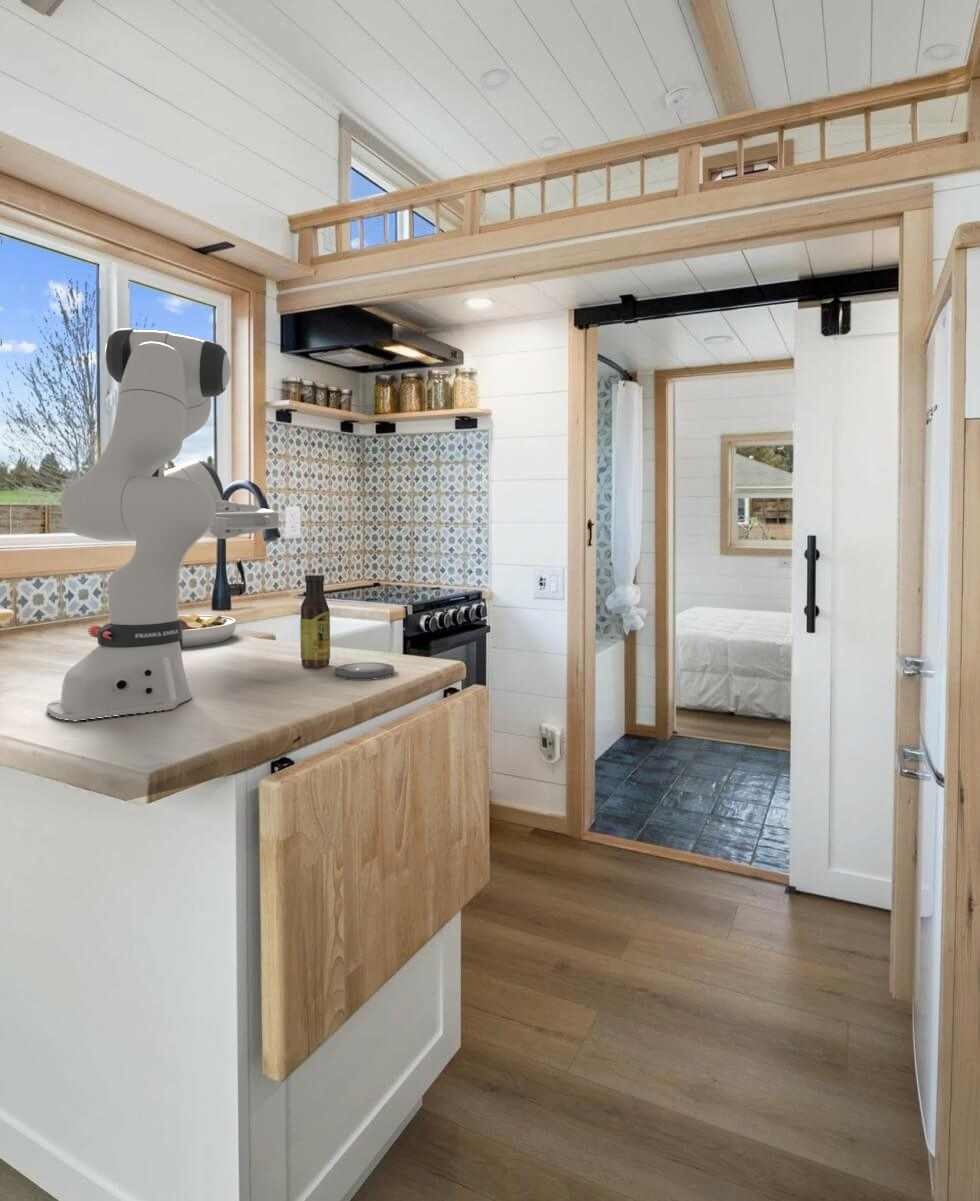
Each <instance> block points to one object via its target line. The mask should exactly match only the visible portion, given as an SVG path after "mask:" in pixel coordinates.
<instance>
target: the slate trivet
mask: <svg viewBox="0 0 980 1201" xmlns="http://www.w3.org/2000/svg"><path fill="white" fill-rule="evenodd" d="M393 673H394V674H395V667H394V665H392V664H388V663H384V662H369V661H368V662H366V661H365V662H353V663H346V664H342V665H339V666H336V667H335V669H334V674H335V677H337V678H339V677H340V678H339V679H342V678H345V679H344V680H349V679H372V680H374V679H373V678H381V677H386V676H389V675H392V674H393ZM394 674H393V675H394ZM393 675H392V676H393ZM389 677H390V676H389ZM386 678H387V677H386ZM381 679H382V678H381Z"/></svg>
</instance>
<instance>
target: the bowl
mask: <svg viewBox="0 0 980 1201" xmlns="http://www.w3.org/2000/svg"><path fill="white" fill-rule="evenodd" d="M178 616H179V619H180V620H181V624H182V632H183V643H182V648H190V647H191V646H193V647H200V646H199V645H201V646H206V645H205V644H208V645H212V644H211V643H213V644H216V642H217V643H220V641H221V642H223V641H226V640H227V639H229V638H230V637H232V635H233V634H234V632H235V630H236V628H237V620H236V619H235V618H233V617H230V616H223V615H220V614H214V615H209V614H208V615H207V614H203V615H202V614H195V613H193V614H187V615H184V614H183V615H181V614H180V615H179V614H178Z"/></svg>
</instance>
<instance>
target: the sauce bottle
mask: <svg viewBox="0 0 980 1201" xmlns="http://www.w3.org/2000/svg"><path fill="white" fill-rule="evenodd" d="M304 581H305V595H306V596H305V598H304V600H303V601H302V603H301V605H300V619H299V620H300V621H299V622H300V623H299V624H300V626H299V628H300V629H299V630H300V659H301V666H302V667H303V668H306V667H309V669H310V668H312V669H316V668H324V667H328V666H329V665H330V659H331V611H330V609H329V605H328V602H327V600H326V597H325V590H324V588H325V587H324V582H325V575H324V574H305V575H304Z"/></svg>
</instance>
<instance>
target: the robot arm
mask: <svg viewBox="0 0 980 1201" xmlns="http://www.w3.org/2000/svg"><path fill="white" fill-rule="evenodd" d="M104 360H105V364H106V368H107V371H108V374H109V375H110V377H112V378H113V380H114V381H115V382H117V383H119V384H120V386H119V393H118V400H117V405H116V410H115V417H114V422H113V426H112V431H111V436H110V437H109V441H108V443H107V445H106V446H105V449H104V451H103V452H102V454H101V455H100V456H99V458H98V459H97V461H96V462H95V463H94V465H92V467H91V468H90V469H89V470H88V471H87V472H85V474H84V475H82V476H81V477H80V478H78V479H76V480H75V481H73V482H71V483H70V484H69V485H68V486H67V487H66V489H65V490H64V492H63V494H62V497H61V501H60V512H61V517H62V520H63V522H64V523H65V525H66V527H67V528H68V529H69V530H70V532H72V533H73V534H75V535H76V536H80V537H85V538H88V539H93V540H99V541H103V542H105V541H107V542H110V541H111V542H114V541H115V542H123V541H124V542H130V541H131V542H135V550H134V553H133V556H132V557H131V558H130V560H129V561H128V562H127V563H124V564H122V565H121V566H119V567H116V569H115V570H114V571H113V572H112V573H111V574H110V576H109V577H108V580H107V583H106V585H107V602H108V604H107V605H108V622H107V623H106V624H104V625H103V626H99V625H97V624H92V625H90V626H89V628H87V633H88V635H89V636H90V637H94V638H97V644H98V646H96V647H95V648H94V649H93V650H92V651H90V653H88V654H87V655H86V656H84V657H82V659H81V660H80V661H78V662H77V663H76V664H75V665H73V666H72V667H71V668H69V669H68V670H67V671H66V673H65V675H64V678H63V681H62V686H61V696H60V697H61V698H60V699H57V700H52V701H50V702H48V703H47V705H46V708H47V709H46V712H47V711H48V712H47V714H48V713H50V714H51V715H53V716H55V717H58V718H62V719H68V720H82V719H91V718H98V717H105V716H114V715H125V714H133V715H137V714H136V713H141V714H147V713H146V712H148V713H154V711H156V712H162V710H164V711H168V710H169V711H170V709H171V710H175V709H176V708H177V707H178V705H180V704H182V703H185V702H186V701H189V700H190V699H192V696H193V694H192V693H191V692H192V691H191V689H190V686H189V683H188V679H187V677H186V672H185V668H184V661H183V655H182V653H183V652H182V650H183V647H182V643H183V632H182V624H181V620H180V619H179V584H180V583H179V582H180V581H179V580H180V574H181V569H182V566H183V564H184V561H185V559H186V557H187V555H188V553H189V552H190V550H191V549H192V547H193V546H194V545H195V544H196V543H197V542H198V541H199V540H200V539H201V538H203V537H207V538H215V539H220V540H221V539H223V540H226V539H227V540H228V539H231V538H234V537H238V536H241V535H246V534H247V535H248V534H254V533H259V532H260V531H262V530H270V529H277V528H278V527H279V525H280V516H279V512H278V511H276V510H272V509H267V508H262V507H259V505H256V504H255V505H254V504H243V503H238V502H234V501H230V500H224V488H223V485H222V481H221V479H220V477H219V476H218V474H217V472H216V470H215V469H213V467H211V466H209V465H208V464H207V463H205V462H203V461H201V460H198V459H193V460H190V461H187V462H185V463H182V464H179V465H177V466H175V467H173V468H169V469H167V470H166V468H165V467H166V464H167V463H169V462H171V461H172V460H174V459H175V458H176V457H177V456H178V455H179V453H180V452H181V451H182V450H181V449H182V448H183V442H184V440H185V439H187V438H189V437H190V436H192V435H193V434H195V433H197V432H198V431H199V430H200V429H202V428H203V426H205V424H206V423H207V422H208V419H209V417H210V413H211V408H212V398H213V397H219V396H221V394H223V393H224V392H225V391H226V389H227V386H228V385H229V382H230V379H231V374H232V373H231V372H232V371H231V367H232V366H231V364H230V363H231V362H230V359H229V357H228V353H227V351H226V349H225V348H224V347H223V346H222V345H221V344H219V343H216V342H214V341H211V340H208V339H205V340H201V339H198V338H194V337H190V336H186V335H181V334H176V333H171V332H170V331H161V330H160V331H158V330H145V329H144V330H143V329H140V330H139V329H137V330H136V329H135V328H133V327H131V328H130V327H127V328H117V329H116V330H114V331H113V332H112V333H111V334H109V336H108V338H107V341H106V344H105V350H104ZM211 397H212V398H211ZM51 715H50V716H51ZM125 716H126V715H125Z"/></svg>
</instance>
